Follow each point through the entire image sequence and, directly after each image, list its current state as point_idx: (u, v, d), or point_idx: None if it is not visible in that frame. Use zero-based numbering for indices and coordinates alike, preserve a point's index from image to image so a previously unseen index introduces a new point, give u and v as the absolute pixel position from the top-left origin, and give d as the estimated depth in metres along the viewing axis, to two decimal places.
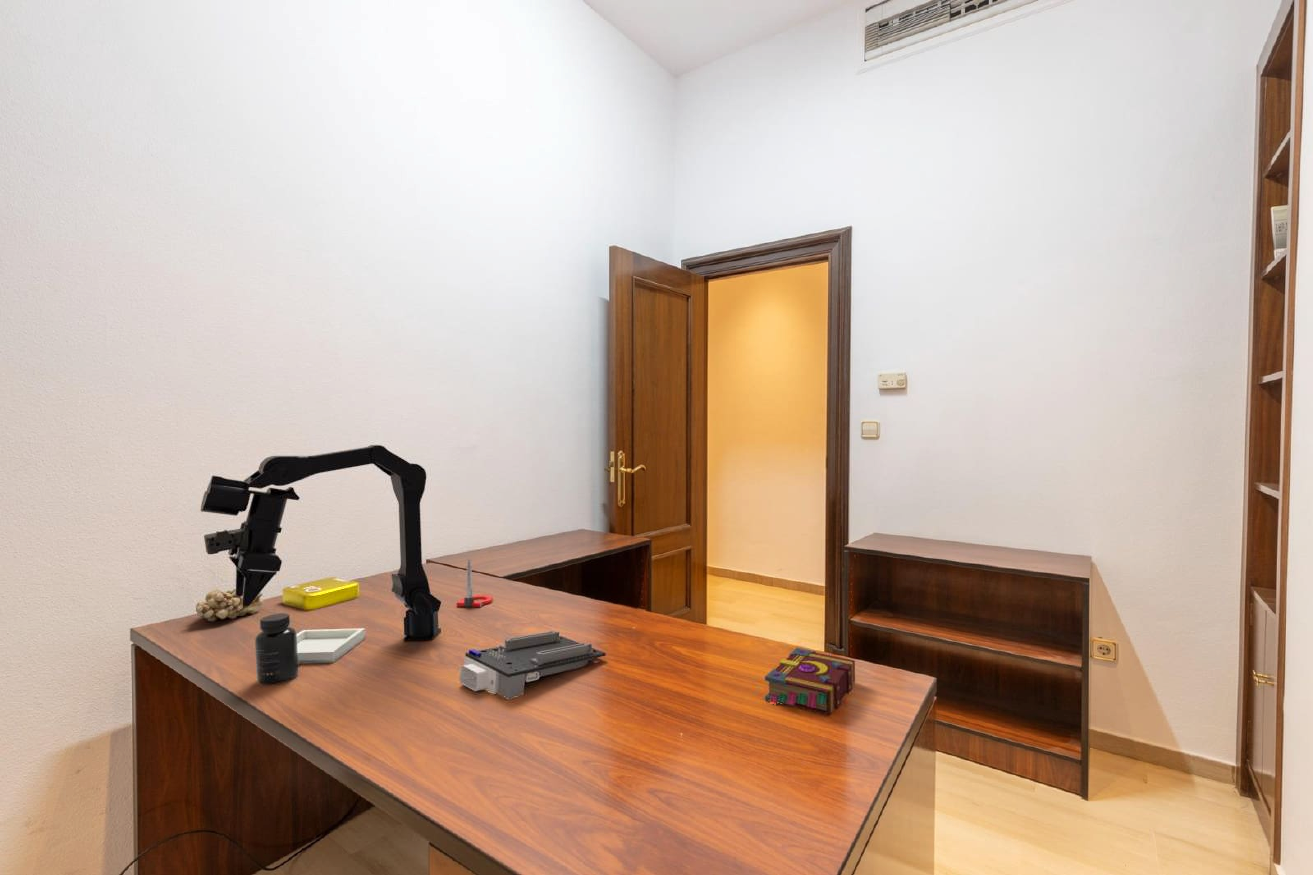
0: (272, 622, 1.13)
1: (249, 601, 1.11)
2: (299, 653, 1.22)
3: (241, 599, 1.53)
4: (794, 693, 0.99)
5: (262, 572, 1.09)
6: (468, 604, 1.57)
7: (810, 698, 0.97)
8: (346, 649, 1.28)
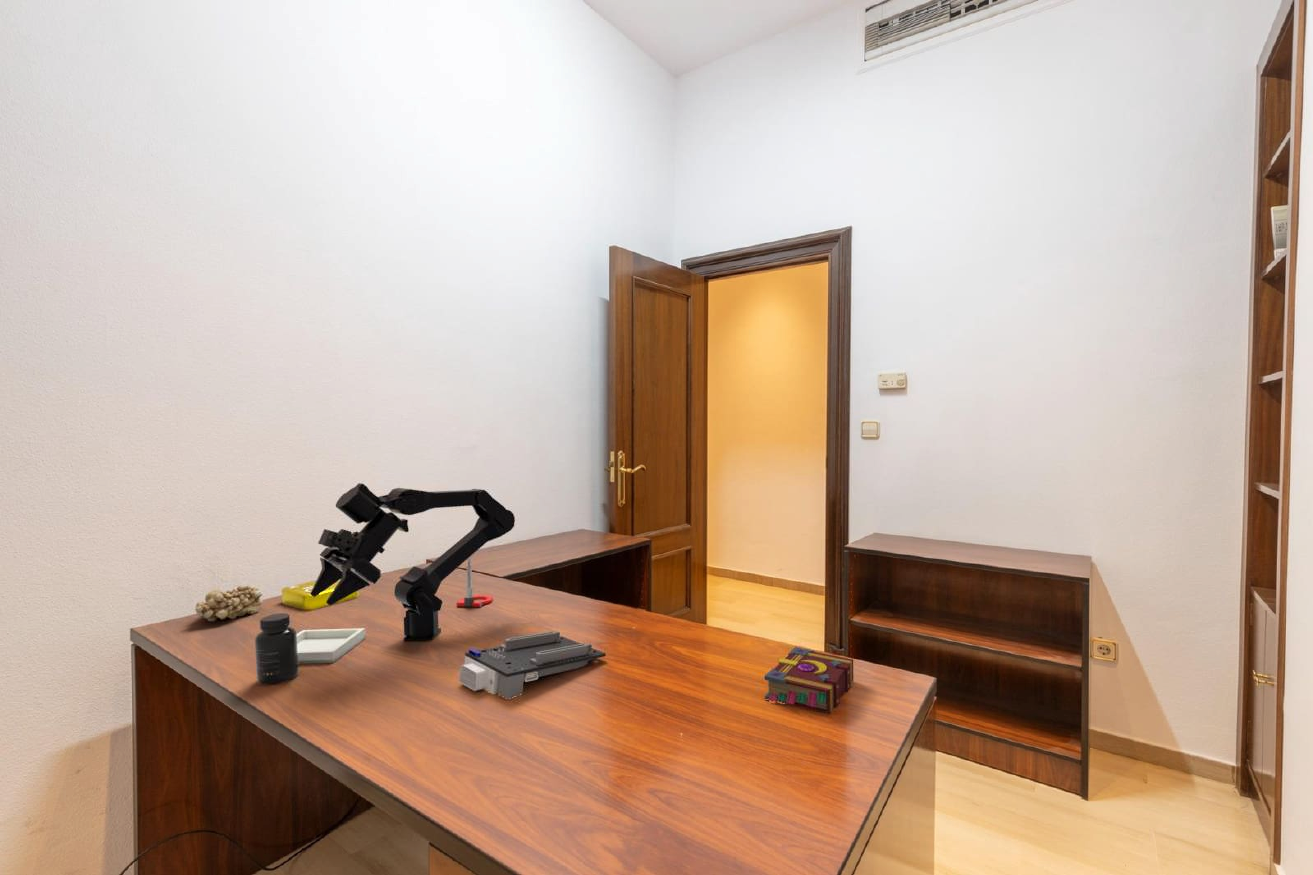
0: (272, 621, 1.13)
1: (333, 601, 1.18)
2: (299, 653, 1.22)
3: (241, 599, 1.53)
4: (794, 693, 0.99)
5: (361, 579, 1.19)
6: (468, 604, 1.57)
7: (810, 697, 0.98)
8: (346, 649, 1.28)
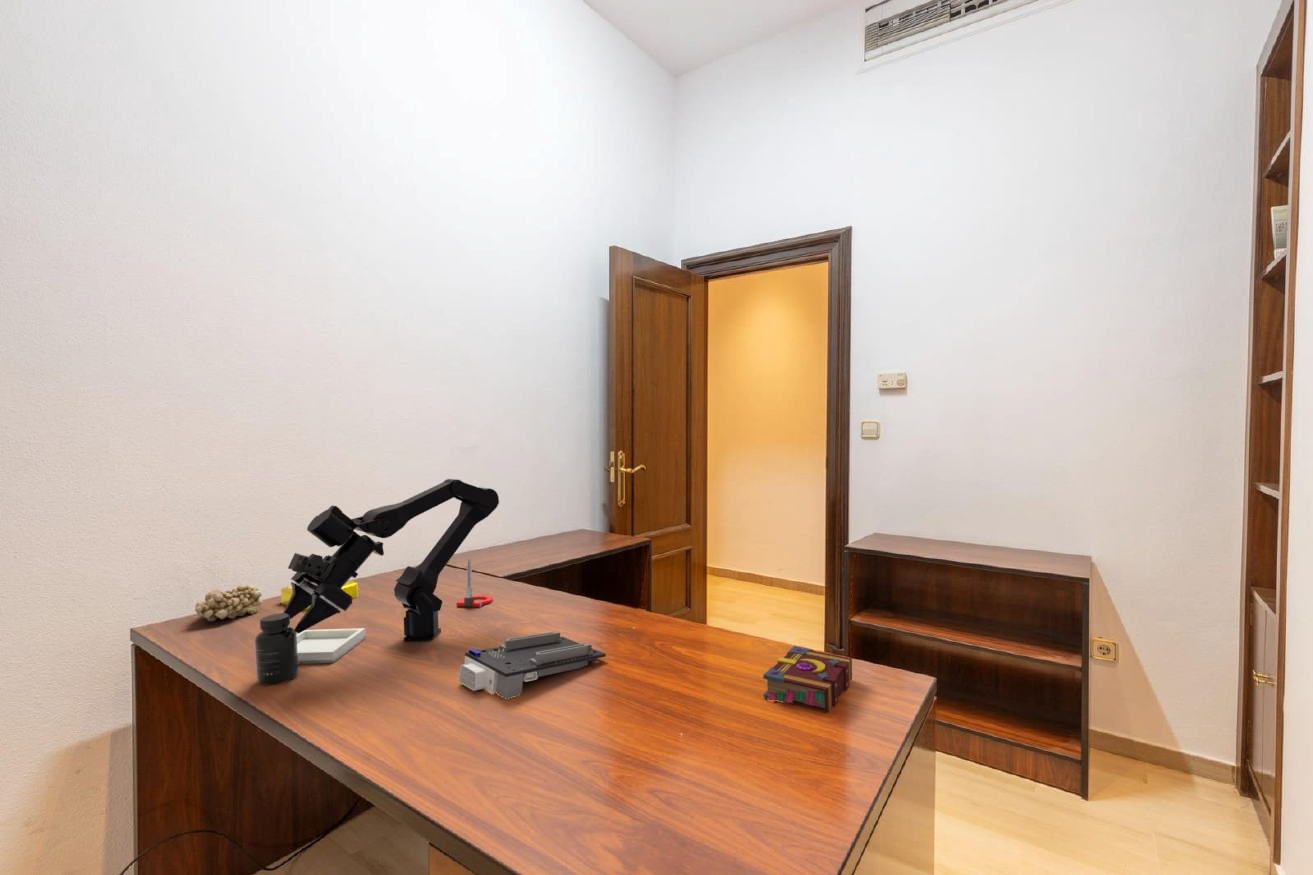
0: (272, 621, 1.13)
1: (302, 629, 1.14)
2: (299, 653, 1.22)
3: (240, 599, 1.53)
4: (793, 691, 1.00)
5: (331, 606, 1.15)
6: (468, 604, 1.57)
7: (808, 696, 0.98)
8: (346, 649, 1.28)
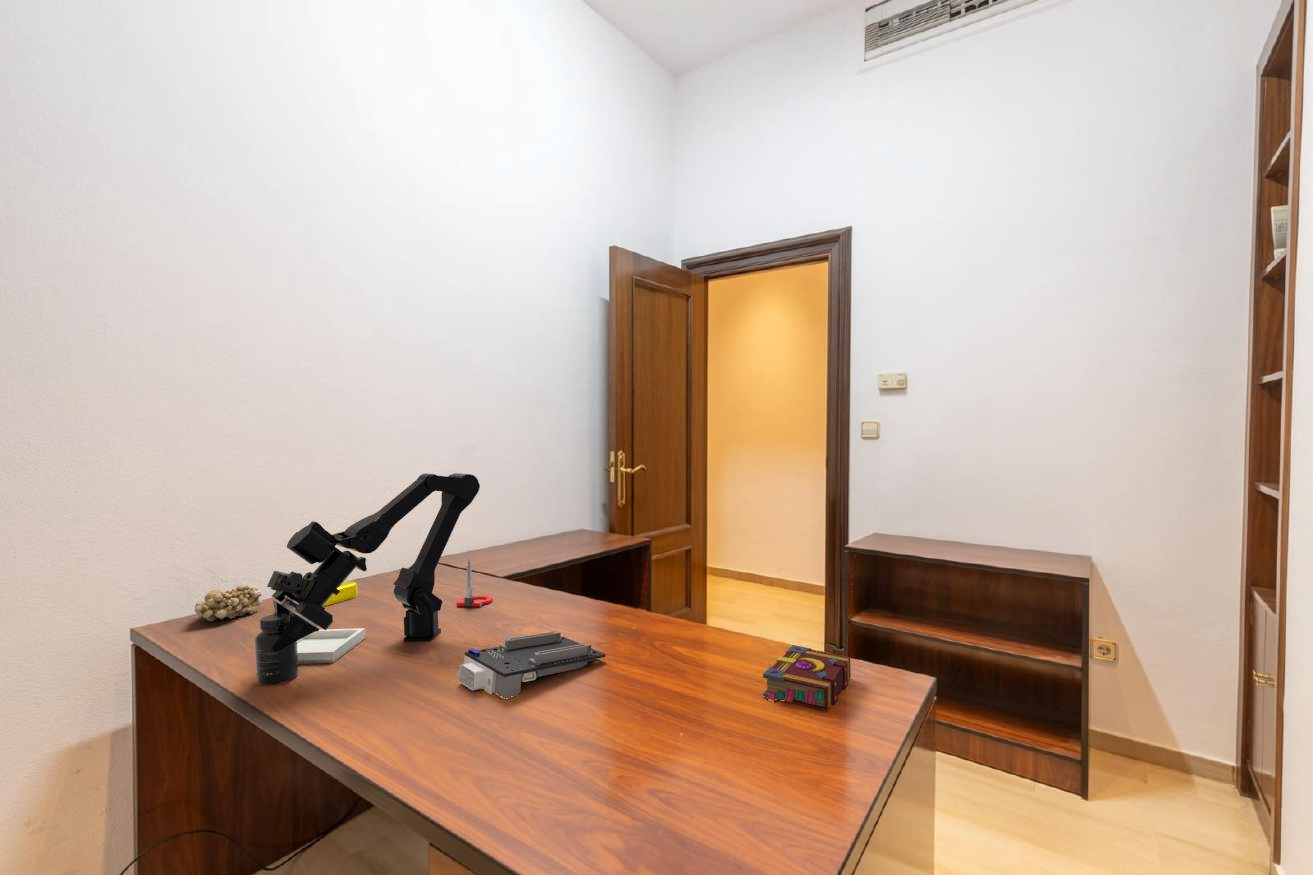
0: (272, 621, 1.13)
1: (279, 648, 1.12)
2: (299, 653, 1.22)
3: (240, 599, 1.53)
4: (792, 690, 1.00)
5: (309, 624, 1.13)
6: (468, 604, 1.57)
7: (808, 694, 0.99)
8: (346, 649, 1.28)
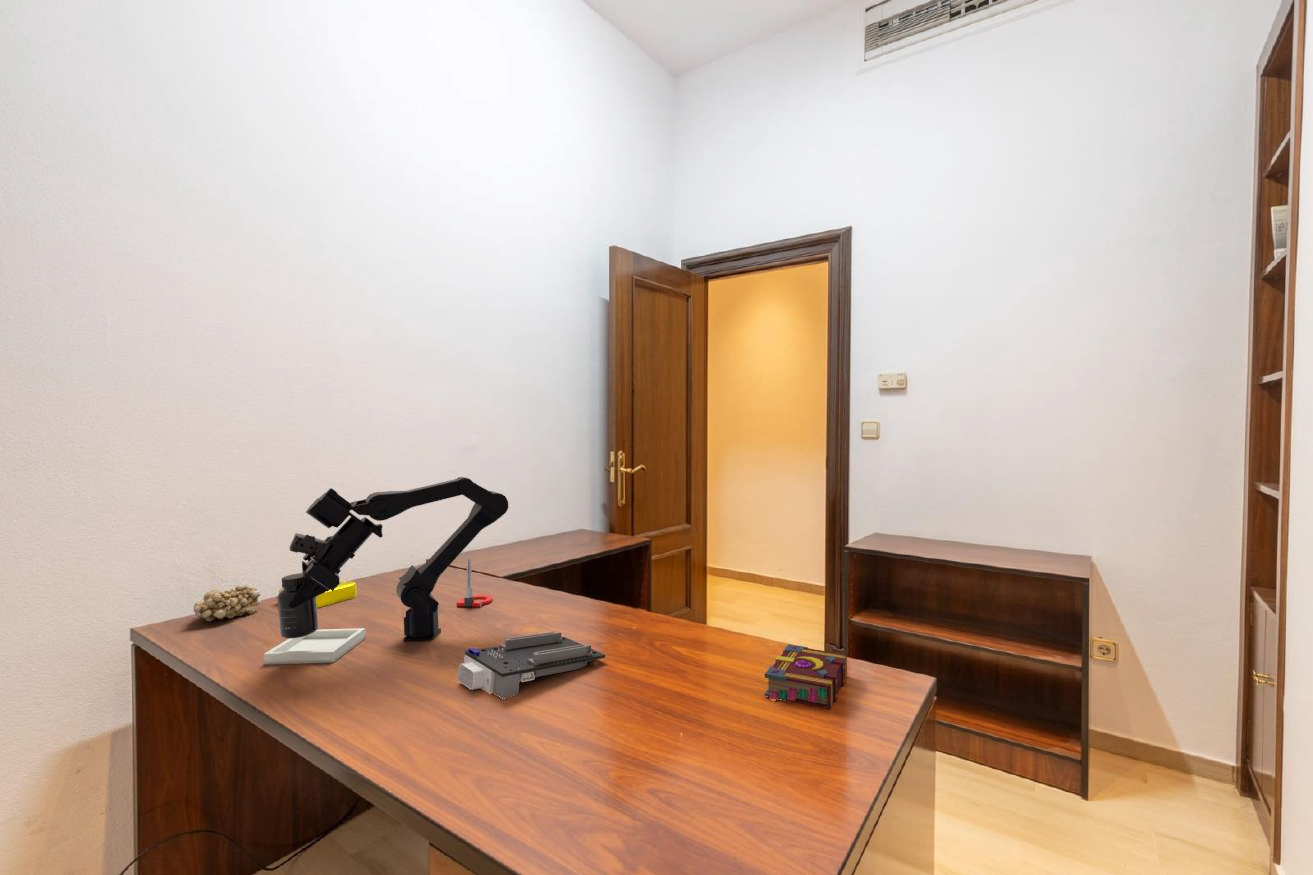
0: (290, 580, 1.21)
1: (295, 604, 1.20)
2: (299, 653, 1.22)
3: (239, 599, 1.53)
4: (794, 689, 1.01)
5: (319, 584, 1.20)
6: (468, 603, 1.57)
7: (811, 693, 0.99)
8: (346, 649, 1.28)
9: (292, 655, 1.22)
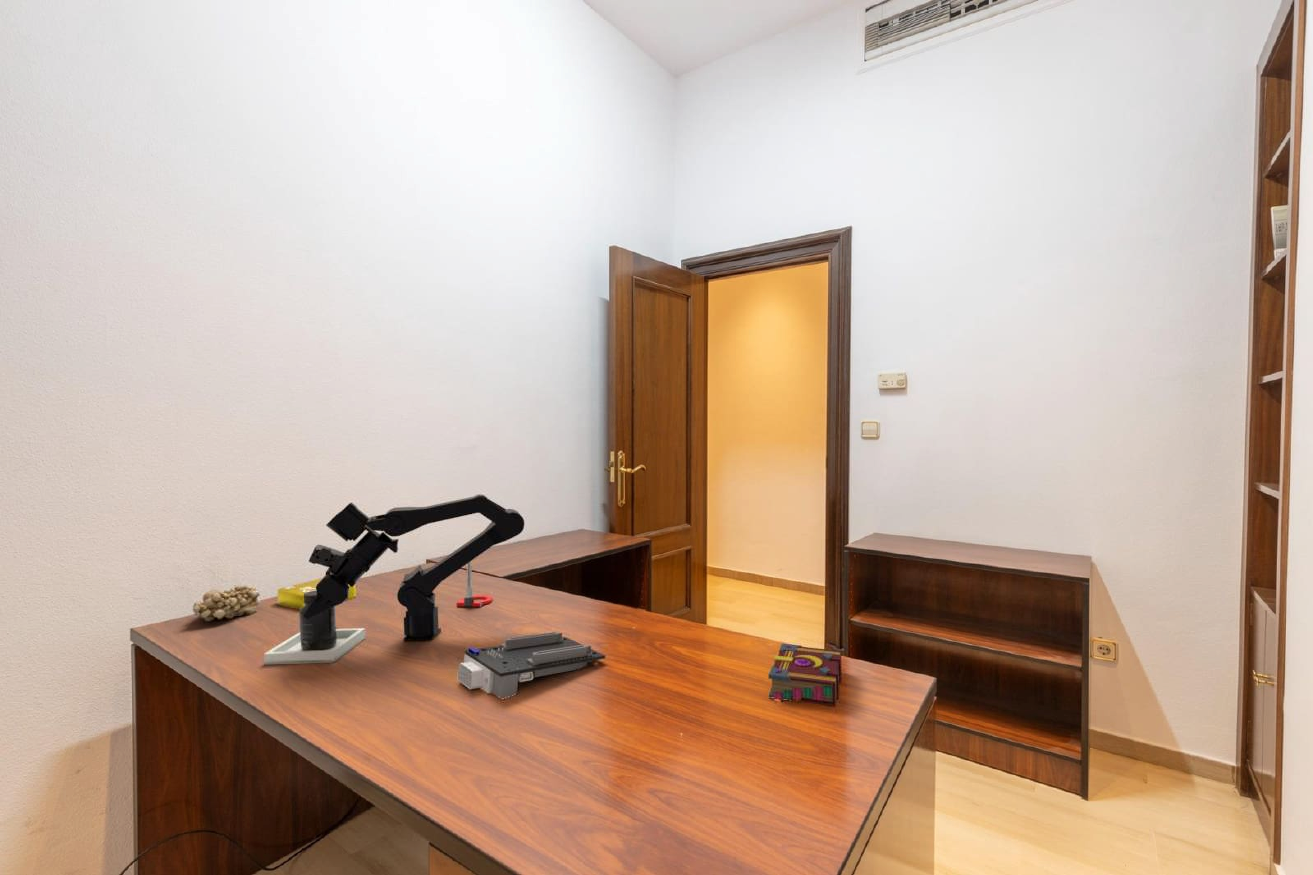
0: (309, 596, 1.27)
1: (309, 615, 1.24)
2: (299, 653, 1.22)
3: (238, 599, 1.53)
4: (799, 688, 1.01)
5: (329, 597, 1.23)
6: (468, 604, 1.57)
7: (816, 691, 1.00)
8: (346, 649, 1.28)
9: (292, 655, 1.22)
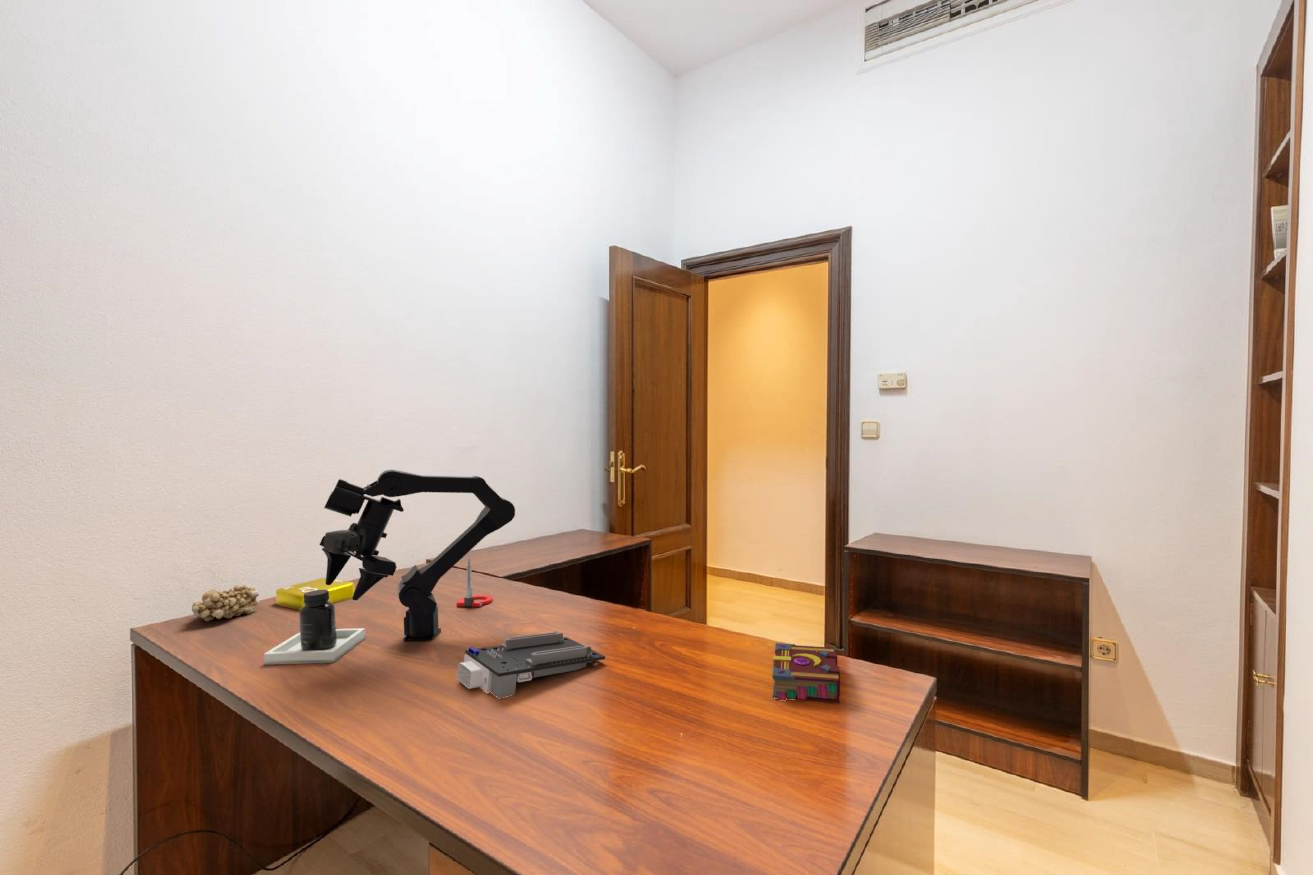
0: (309, 596, 1.27)
1: (359, 596, 1.27)
2: (299, 653, 1.22)
3: (237, 599, 1.53)
4: (803, 687, 1.01)
5: (380, 575, 1.27)
6: (468, 603, 1.57)
7: (820, 689, 1.00)
8: (346, 649, 1.28)
9: (292, 655, 1.22)
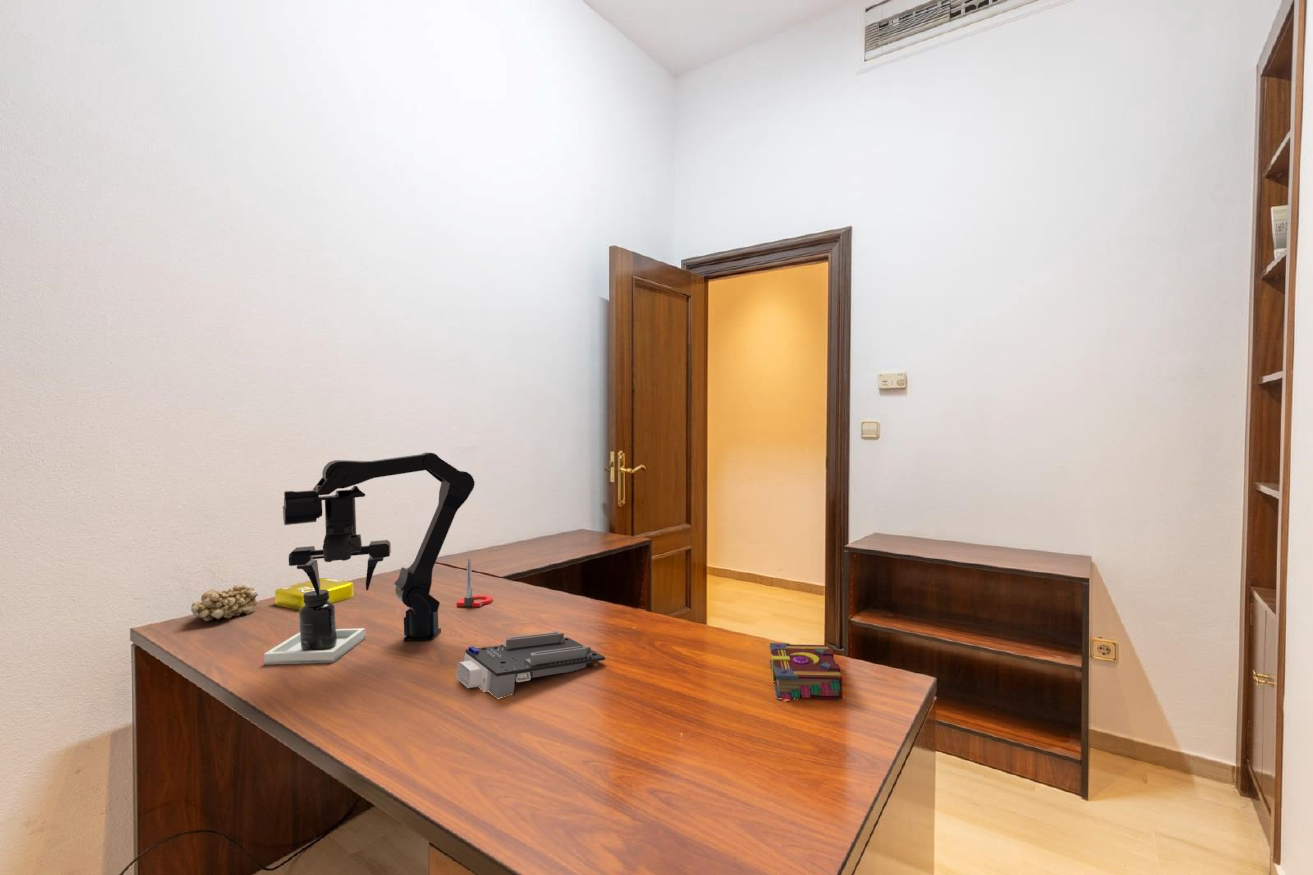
0: (309, 596, 1.27)
1: (369, 585, 1.29)
2: (299, 653, 1.22)
3: (237, 599, 1.53)
4: (806, 686, 1.02)
5: None
6: (468, 603, 1.57)
7: (823, 687, 1.01)
8: (346, 649, 1.28)
9: (292, 655, 1.22)
